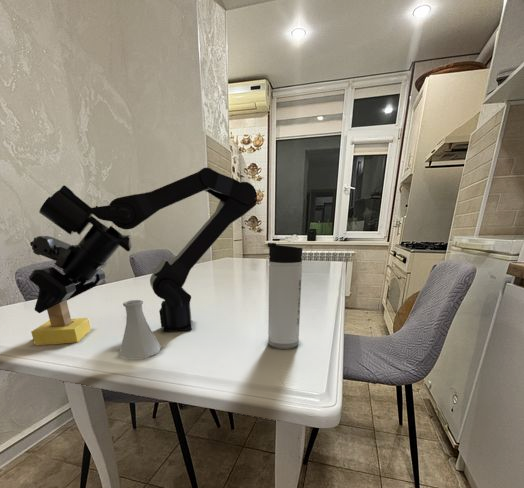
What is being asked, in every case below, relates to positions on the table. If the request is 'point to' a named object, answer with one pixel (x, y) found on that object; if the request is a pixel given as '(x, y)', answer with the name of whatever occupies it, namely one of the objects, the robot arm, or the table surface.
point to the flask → (137, 333)
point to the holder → (61, 332)
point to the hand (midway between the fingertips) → (49, 305)
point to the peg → (59, 315)
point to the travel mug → (284, 295)
